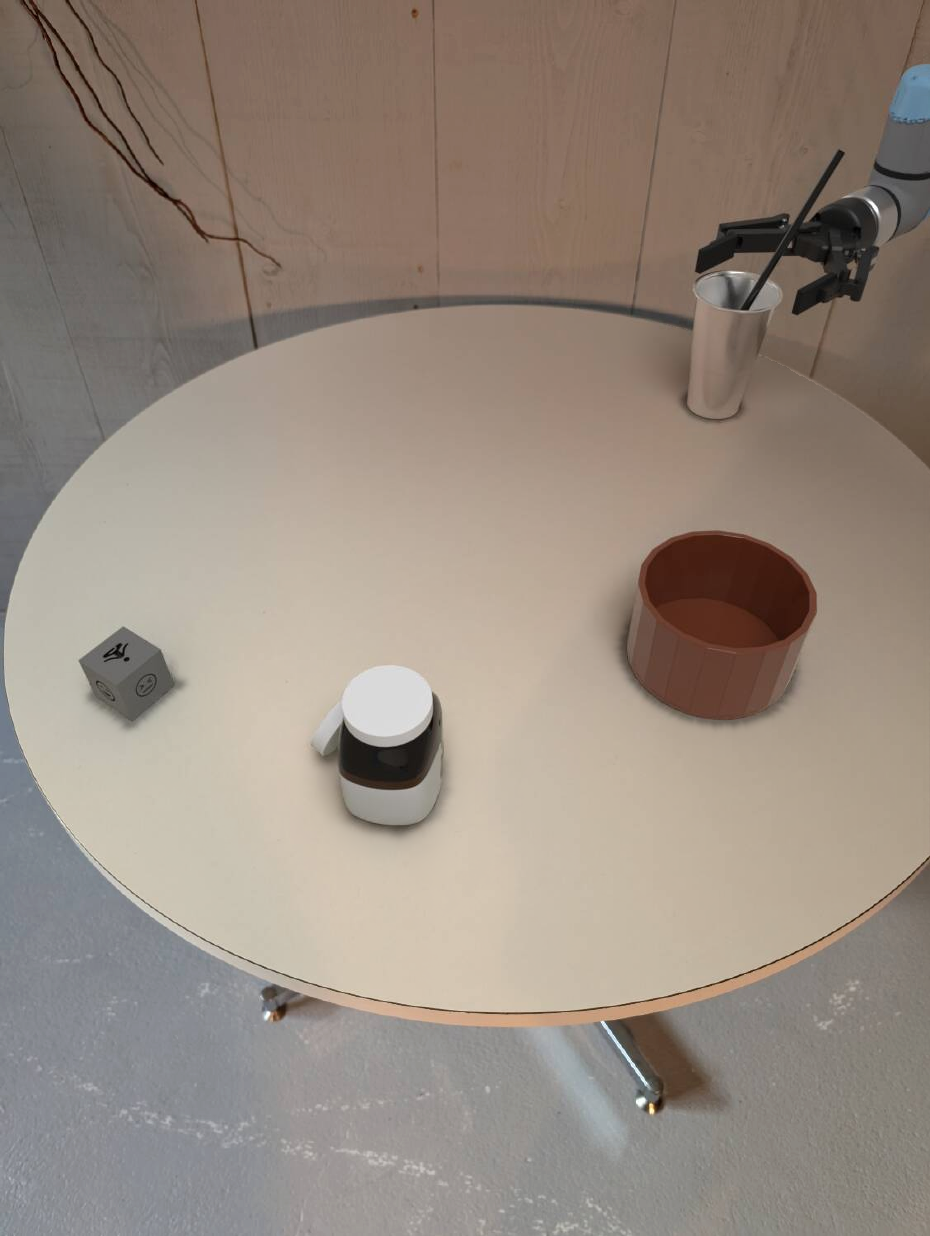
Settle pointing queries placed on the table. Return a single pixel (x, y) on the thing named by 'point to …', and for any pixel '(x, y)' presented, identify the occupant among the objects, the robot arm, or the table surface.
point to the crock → (719, 623)
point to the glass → (735, 324)
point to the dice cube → (127, 672)
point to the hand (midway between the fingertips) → (746, 281)
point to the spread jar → (386, 745)
